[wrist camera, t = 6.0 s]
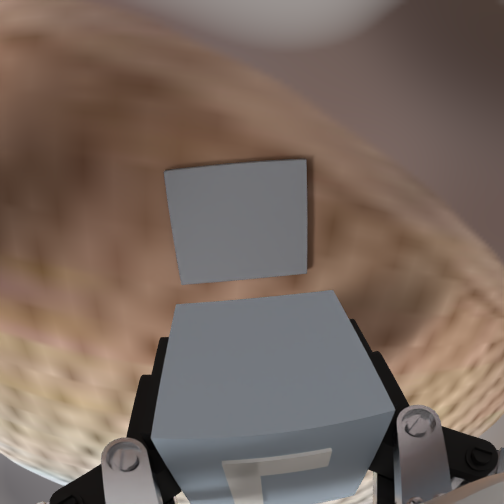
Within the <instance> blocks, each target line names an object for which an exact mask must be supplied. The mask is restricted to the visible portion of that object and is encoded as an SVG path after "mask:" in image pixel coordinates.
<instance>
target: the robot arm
mask: <svg viewBox="0 0 504 504" xmlns="http://www.w3.org/2000/svg"><path fill="white" fill-rule="evenodd" d="M349 320H350V322H351V324H352V326H353V328H354V330H355V331H356V333H357V335H358V337H359V339H360V341H361V343H362V345H363V347H364V348H365V350H366V352H367V354H368V356H369V358H370V360H371V362H372V364H373V366H374V368H375V370H376V372H377V374H378V376H379V378H380V380H381V381H382V383H383V385H384V387H385V389H386V391H387V393H388V395H389V398H390V400H391V402H392V404H393V406H394V408H395V412H394V415H393V417H392V420H391V422H390V424H389V426H388V429H387V431H386V433H385V435H384V438H383V440H382V442H381V444H380V446H379V448H378V450H377V453H376V455H375V457H374V459H373V461H372V463H371V465H370V467H369V470H371V471H373V504H504V448H500V449H499V450H496V448H495V447H494V445H492V444H491V443H490V442H488V441H486V440H483V439H480V438H477V437H474V436H470V435H467V434H464V433H461V432H458V431H455V430H452V429H449V428H446V427H443V426H441V421H440V419H439V416H438V415H437V413H436V412H435V411H434V410H432V409H431V408H429V407H426V406H423V405H413V406H409V404H408V402H407V400H406V398H405V397H404V395H403V393H402V391H401V389H400V387H399V385H398V384H397V382H396V380H395V378H394V376H393V374H392V373H391V371H390V369H389V367H388V365H387V364H386V362H385V360H384V358H383V356H382V355H381V353H380V352H378V351H375V352H372V350H371V349H370V347H369V345H368V343H367V341H366V339H365V338H364V336H363V334H362V332H361V330H360V329H359V327H358V325H357V323H356V321H355V320H354V319H349ZM168 340H169V337H161V338H160V340H159V344H158V349H157V353H156V357H155V361H154V366H153V370H152V375H142V376H141V378H140V381H139V385H138V389H137V393H136V397H135V401H134V406H133V410H132V414H131V419H130V423H129V428H128V432H127V437H126V438H119V439H116V440H114V441H112V442H110V443H109V444H108V445H107V446H106V447H105V448H104V450H103V452H102V456H101V464H100V465H99V466H97V467H95V468H94V469H92V470H91V471H89V472H87V473H86V474H84V475H82V476H81V477H79V478H77V479H76V480H74V481H72V482H71V483H69V484H67V485H66V486H64V487H62V488H60V489H59V490H58V491H56V492H55V493H54V494H53V495H52V497H51V499H50V502H47V503H45V502H44V501H42V502H39V503H37V504H178V502H177V499H176V495H177V494H179V493H180V492H181V488H180V487H179V485H178V483H177V482H176V480H175V479H174V477H173V476H172V474H171V472H170V471H169V469H168V467H167V466H166V464H165V462H164V461H163V459H162V457H161V456H160V454H159V452H158V450H157V449H156V447H155V445H154V443H153V441H152V440H151V433H152V427H153V421H154V415H155V409H156V403H157V398H158V392H159V387H160V381H161V376H162V371H163V365H164V360H165V355H166V350H167V345H168Z"/></svg>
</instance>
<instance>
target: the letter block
mask: <svg viewBox="0 0 504 504" xmlns="http://www.w3.org/2000/svg"><path fill="white" fill-rule="evenodd" d="M394 412H395V408H394V406H393V404H392V402H391V400H390V398H389V395H388V393H387V391H386V389H385V387H384V385H383V383H382V381H381V380H380V378H379V376H378V374H377V372H376V370H375V368H374V366H373V364H372V362H371V360H370V358H369V356H368V354H367V352H366V350H365V348H364V347H363V345H362V343H361V341H360V339H359V337H358V335H357V333H356V331H355V330H354V328H353V326H352V324H351V322H350V320H349V318H348V317H347V315H346V313H345V311H344V309H343V307H342V306H341V304H340V302H339V300H338V298H337V297H336V295H335V293H334V291H333V290H328V291H320V292H311V293H301V294H292V295H282V296H272V297H262V298H251V299H240V300H228V301H216V302H203V303H189V304H176V308H175V312H174V317H173V321H172V326H171V331H170V336H169V340H168V345H167V350H166V355H165V360H164V365H163V371H162V376H161V381H160V387H159V392H158V398H157V403H156V409H155V415H154V421H153V427H152V433H151V440H152V441H153V443H154V445H155V447H156V449H157V450H158V452H159V454H160V456H161V457H162V459H163V461H164V462H165V464H166V466H167V467H168V469H169V471H170V472H171V474H172V476H173V477H174V479H175V480H176V482H177V483H178V485H179V487H180V488H181V490H182V491H183V493H184V494H185V496H186V497H187V499H188V500H189V502H190V503H191V504H316V503H321V502H326V501H331V500H336V499H340V498H345V497H349V496H353V495H354V494H355V493H356V491H357V489H358V487H359V485H360V484H361V482H362V480H363V478H364V476H365V474H366V472H367V470H368V469H369V467H370V465H371V463H372V461H373V459H374V457H375V455H376V453H377V450H378V448H379V446H380V444H381V442H382V440H383V438H384V435H385V433H386V431H387V429H388V426H389V424H390V422H391V420H392V417H393V415H394Z"/></svg>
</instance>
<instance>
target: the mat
mask: <svg viewBox="0 0 504 504" xmlns="http://www.w3.org/2000/svg"><path fill="white" fill-rule="evenodd" d="M164 178H165V185H166V193H167V200H168V207H169V214H170V220H171V227H172V233H173V239H174V245H175V251H176V257H177V263H178V268H179V274H180V279H181V285H186V284H198V283H210V282H222V281H233V280H244V279H255V278H266V277H276V276H286V275H296V274H306V273H307V166H306V159H286V160H268V161H253V162H240V163H228V164H217V165H207V166H197V167H188V168H179V169H171V170H165V171H164Z"/></svg>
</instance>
